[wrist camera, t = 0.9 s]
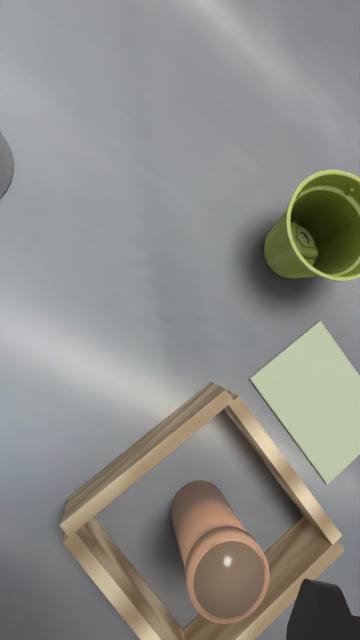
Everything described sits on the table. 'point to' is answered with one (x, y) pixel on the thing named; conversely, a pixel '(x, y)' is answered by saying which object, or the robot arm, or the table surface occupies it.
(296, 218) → the plant pot
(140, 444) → the frame
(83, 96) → the table surface
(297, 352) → the green mat
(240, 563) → the seedling pot
